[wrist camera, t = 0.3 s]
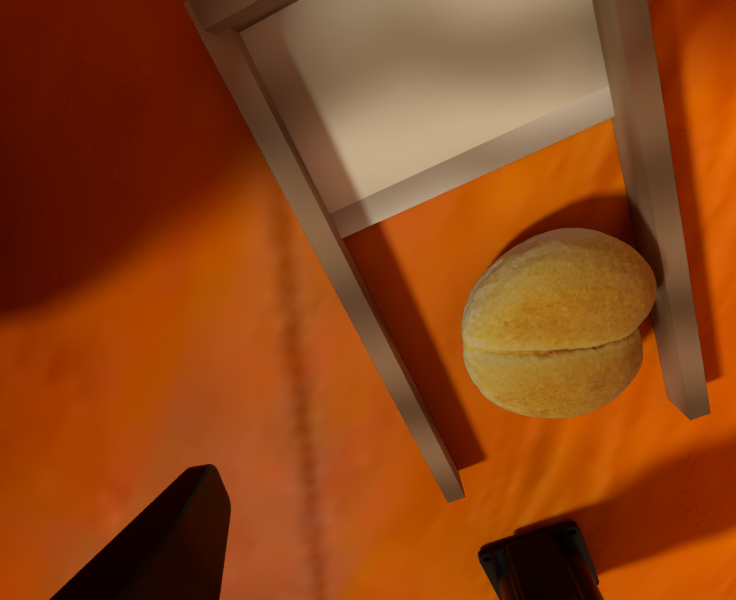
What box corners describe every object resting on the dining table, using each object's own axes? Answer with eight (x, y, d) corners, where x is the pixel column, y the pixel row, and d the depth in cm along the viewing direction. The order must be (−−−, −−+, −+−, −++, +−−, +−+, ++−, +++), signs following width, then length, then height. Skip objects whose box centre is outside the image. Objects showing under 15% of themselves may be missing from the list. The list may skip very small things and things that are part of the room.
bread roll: (648, 212, 20) (716, 245, 16) (611, 379, 24) (659, 435, 20) (457, 230, 19) (484, 267, 16) (454, 394, 24) (474, 453, 20)
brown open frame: (686, 391, 24) (732, 432, 21) (442, 477, 26) (453, 525, 24) (581, -202, 14) (640, -276, 11) (199, 11, 16) (166, -5, 13)
